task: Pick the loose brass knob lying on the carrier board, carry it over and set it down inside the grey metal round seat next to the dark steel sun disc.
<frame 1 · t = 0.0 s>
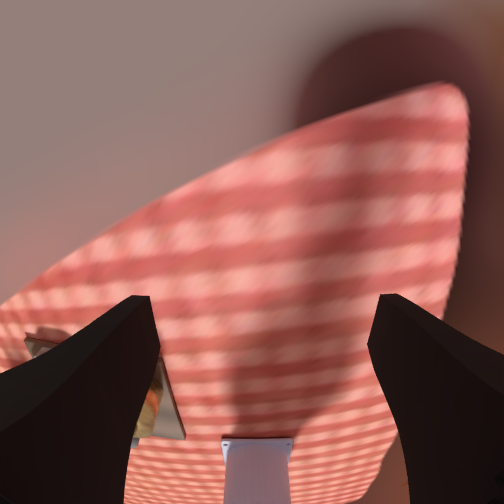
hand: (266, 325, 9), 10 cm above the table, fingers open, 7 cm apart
brass knob: (137, 385, 23), point 1 cm above the table, touching carrier
carrier: (104, 393, 25), on the table
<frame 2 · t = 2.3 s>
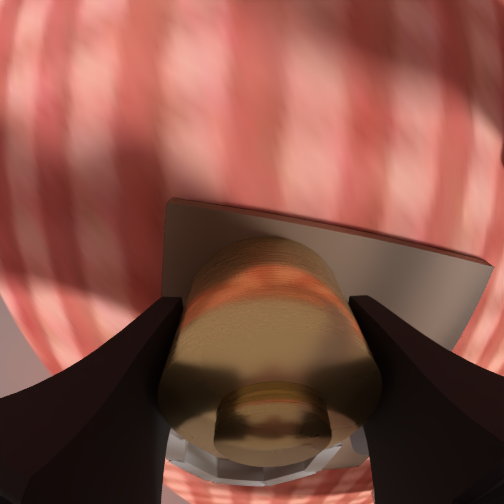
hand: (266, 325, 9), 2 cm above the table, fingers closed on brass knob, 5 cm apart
brass knob: (264, 306, 10), point 1 cm above the table, touching carrier, gripper
carrier: (305, 393, 12), on the table
when the fingers open (4 cm above the table, at t = 5.2 s): brass knob drops 1 cm, resting on carrier.
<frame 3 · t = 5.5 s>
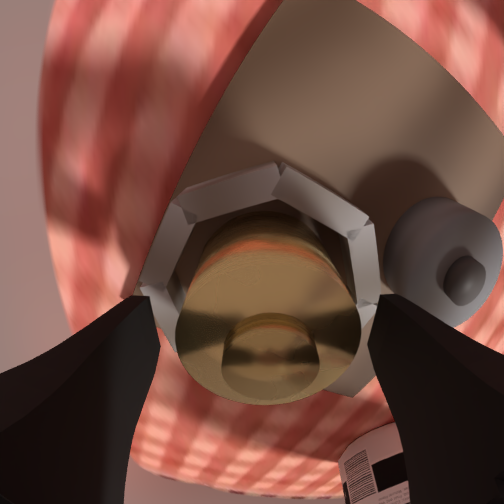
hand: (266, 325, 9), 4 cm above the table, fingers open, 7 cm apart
supplement can: (382, 441, 19), on the table
brass knob: (263, 273, 11), point 1 cm above the table, touching carrier
carrier: (348, 222, 11), on the table
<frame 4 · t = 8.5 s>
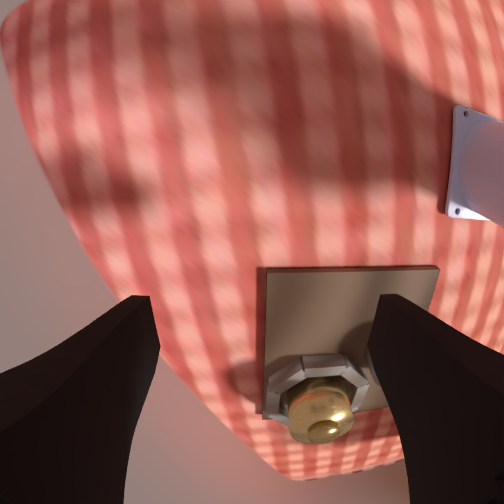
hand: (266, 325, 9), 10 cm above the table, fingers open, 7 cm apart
brass knob: (314, 387, 23), point 1 cm above the table, touching carrier
carrier: (343, 355, 22), on the table
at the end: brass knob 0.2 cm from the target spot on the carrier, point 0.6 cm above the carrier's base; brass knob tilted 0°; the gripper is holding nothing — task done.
